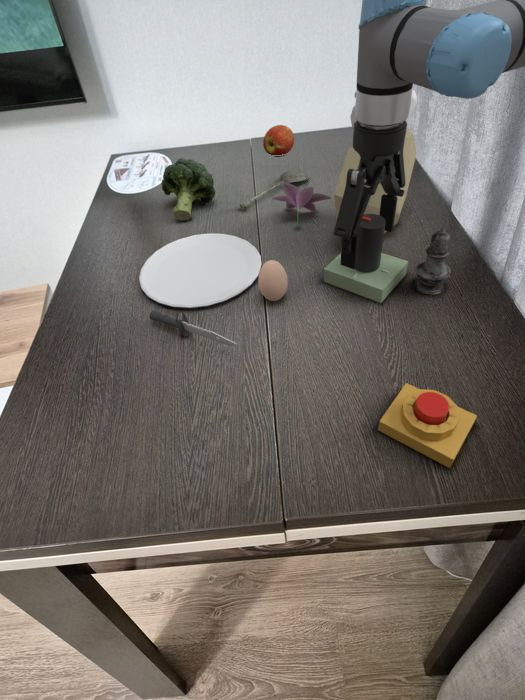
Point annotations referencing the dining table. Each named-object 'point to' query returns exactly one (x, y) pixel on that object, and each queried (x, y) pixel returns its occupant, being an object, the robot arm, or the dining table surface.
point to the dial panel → (367, 277)
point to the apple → (278, 140)
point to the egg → (273, 280)
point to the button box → (427, 427)
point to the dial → (370, 242)
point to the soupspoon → (285, 177)
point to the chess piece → (434, 265)
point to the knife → (188, 327)
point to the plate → (200, 270)
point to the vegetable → (187, 185)
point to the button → (431, 408)
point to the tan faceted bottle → (375, 200)
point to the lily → (299, 198)
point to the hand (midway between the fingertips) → (367, 247)
